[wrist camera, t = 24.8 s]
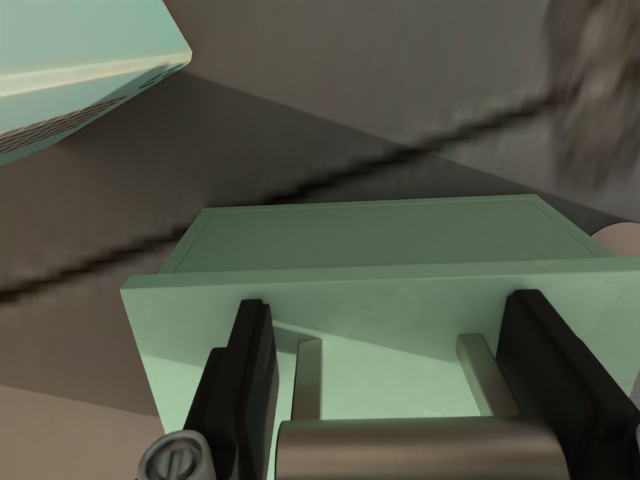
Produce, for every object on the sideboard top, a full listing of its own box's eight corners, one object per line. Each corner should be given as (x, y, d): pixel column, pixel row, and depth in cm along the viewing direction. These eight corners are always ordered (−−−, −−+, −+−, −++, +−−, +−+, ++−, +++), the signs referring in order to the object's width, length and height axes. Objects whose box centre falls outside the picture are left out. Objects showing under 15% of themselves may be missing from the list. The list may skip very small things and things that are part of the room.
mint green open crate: (202, 207, 19) (137, 297, 12) (535, 193, 18) (647, 279, 12) (247, 437, 25) (220, 571, 19) (490, 432, 25) (545, 569, 18)
